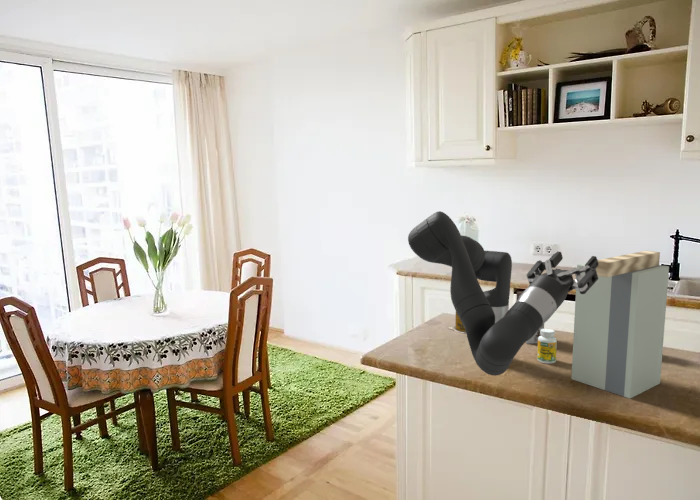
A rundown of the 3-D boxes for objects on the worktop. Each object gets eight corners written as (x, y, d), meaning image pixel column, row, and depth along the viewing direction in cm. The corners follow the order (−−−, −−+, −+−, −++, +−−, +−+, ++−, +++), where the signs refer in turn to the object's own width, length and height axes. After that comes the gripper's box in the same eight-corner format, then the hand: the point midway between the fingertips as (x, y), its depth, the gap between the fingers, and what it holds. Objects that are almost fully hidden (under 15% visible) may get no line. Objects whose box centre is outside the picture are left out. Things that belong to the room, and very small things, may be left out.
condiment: (464, 333, 186) (464, 301, 184) (446, 328, 193) (447, 296, 191) (477, 330, 190) (478, 298, 188) (460, 324, 197) (461, 293, 195)
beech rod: (606, 277, 123) (607, 262, 122) (592, 275, 126) (593, 260, 125) (659, 265, 138) (660, 252, 137) (645, 263, 141) (646, 250, 140)
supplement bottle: (555, 358, 160) (556, 328, 159) (556, 364, 155) (558, 333, 153) (536, 357, 162) (538, 327, 160) (537, 363, 157) (538, 332, 155)
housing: (629, 398, 131) (638, 273, 127) (571, 378, 144) (577, 264, 140) (660, 383, 140) (669, 266, 136) (602, 366, 153) (608, 258, 149)
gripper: (565, 293, 105) (604, 246, 112) (506, 282, 116) (545, 240, 123) (574, 321, 108) (611, 274, 115) (516, 307, 119) (553, 265, 126)
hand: (577, 256), depth 119 cm, fingers open, 8 cm apart
